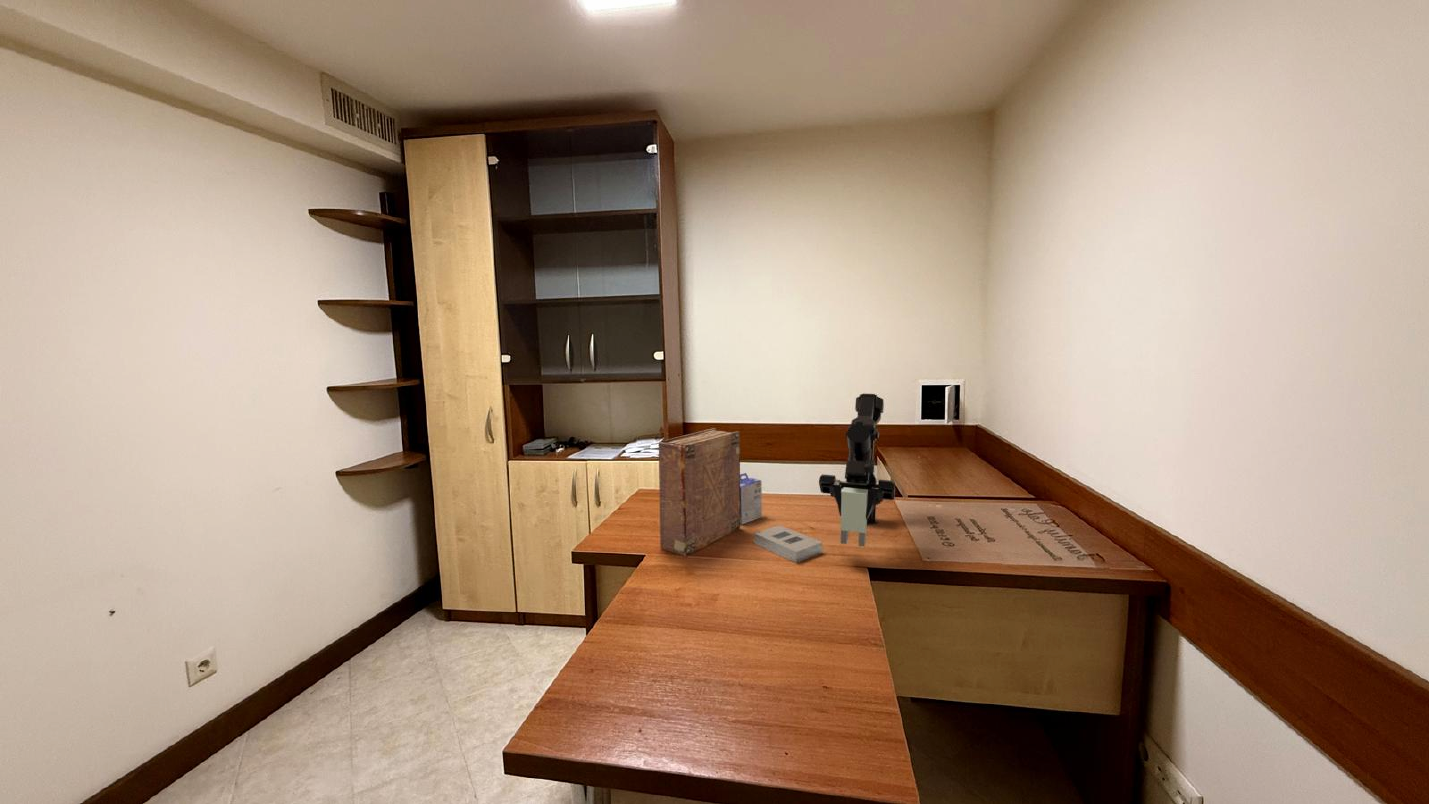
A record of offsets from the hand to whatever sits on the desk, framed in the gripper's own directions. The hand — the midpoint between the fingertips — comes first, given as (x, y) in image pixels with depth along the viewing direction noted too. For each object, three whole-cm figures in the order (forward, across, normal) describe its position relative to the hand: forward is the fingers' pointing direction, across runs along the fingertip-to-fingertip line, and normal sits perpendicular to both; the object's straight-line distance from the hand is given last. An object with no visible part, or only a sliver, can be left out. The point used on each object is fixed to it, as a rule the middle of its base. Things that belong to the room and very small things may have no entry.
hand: (853, 517), depth 132 cm
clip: (+4, 0, +6) cm, 7 cm away
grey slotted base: (+5, -18, +13) cm, 23 cm away
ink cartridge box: (-7, -35, +26) cm, 44 cm away
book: (+7, -42, +12) cm, 45 cm away
